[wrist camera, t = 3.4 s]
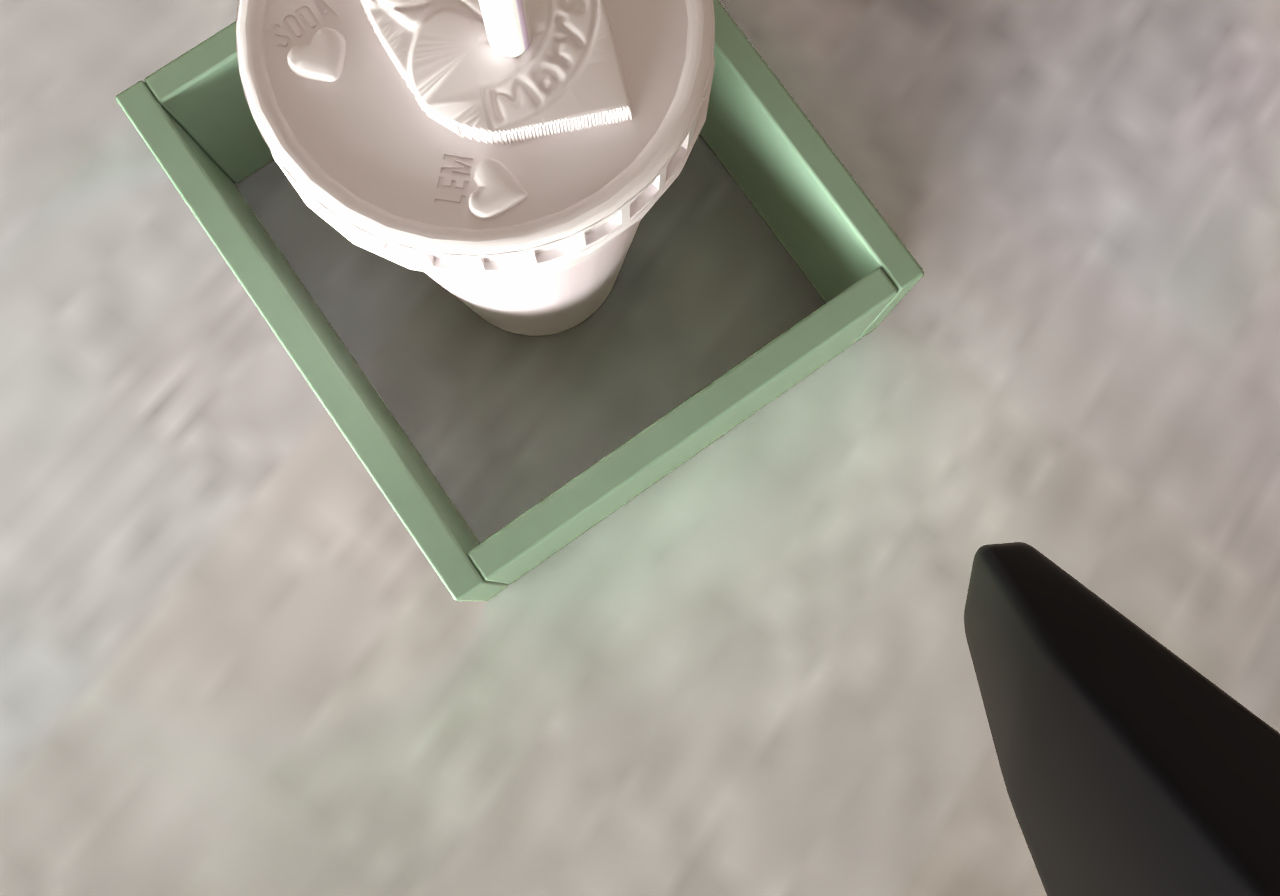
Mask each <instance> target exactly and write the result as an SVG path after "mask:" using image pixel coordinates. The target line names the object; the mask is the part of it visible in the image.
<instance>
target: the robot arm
mask: <svg viewBox="0 0 1280 896" xmlns="http://www.w3.org/2000/svg"><path fill="white" fill-rule="evenodd" d="M964 624H965V632H966V638H967V642H968V646H969V649H970V653H971V657H972V661H973V665H974V669H975V672H976V676H977V680H978V684H979V688H980V691H981V695H982V699H983V703H984V707H985V710H986V714H987V718H988V722H989V726H990V729H991V733H992V737H993V741H994V745H995V748H996V752H997V756H998V760H999V764H1000V767H1001V771H1002V774H1003V778H1004V781H1005V785H1006V788H1007V792H1008V795H1009V797H1010V800H1011V803H1012V806H1013V809H1014V811H1015V814H1016V817H1017V820H1018V822H1019V825H1020V827H1021V830H1022V832H1023V835H1024V837H1025V840H1026V842H1027V845H1028V848H1029V850H1030V853H1031V855H1032V858H1033V860H1034V863H1035V865H1036V868H1037V871H1038V873H1039V876H1040V878H1041V881H1042V883H1043V886H1044V888H1045V891H1046V893H1047V896H1280V734H1279V733H1278V732H1277V731H1276V730H1274V729H1273V728H1272V727H1270V726H1269V725H1268V724H1266V723H1265V722H1264V721H1262V720H1261V719H1260V718H1258V717H1257V716H1256V715H1254V714H1253V713H1252V712H1250V711H1249V710H1248V709H1246V708H1245V707H1244V706H1242V705H1241V704H1240V703H1238V702H1237V701H1236V700H1234V699H1233V698H1232V697H1231V696H1229V695H1228V694H1227V693H1225V692H1224V691H1223V690H1221V689H1220V688H1219V687H1217V686H1216V685H1215V684H1213V683H1212V682H1211V681H1209V680H1208V679H1207V678H1205V677H1204V676H1203V675H1201V674H1200V673H1199V672H1197V671H1196V670H1195V669H1193V668H1192V667H1191V666H1190V665H1188V664H1187V663H1186V662H1184V661H1183V660H1182V659H1180V658H1179V657H1178V656H1176V655H1175V654H1174V653H1172V652H1171V651H1170V650H1168V649H1167V648H1166V647H1164V646H1163V645H1162V644H1160V643H1159V642H1158V641H1156V640H1155V639H1154V638H1152V637H1151V636H1150V635H1149V634H1147V633H1146V632H1145V631H1143V630H1142V629H1141V628H1139V627H1138V626H1137V625H1135V624H1134V623H1133V622H1131V621H1130V620H1129V619H1127V618H1126V617H1125V616H1123V615H1122V614H1121V613H1119V612H1118V611H1117V610H1115V609H1114V608H1113V607H1111V606H1110V605H1109V604H1107V603H1106V602H1105V601H1104V600H1102V599H1101V598H1100V597H1098V596H1097V595H1096V594H1094V593H1093V592H1092V591H1090V590H1089V589H1088V588H1086V587H1085V586H1084V585H1082V584H1081V583H1080V582H1078V581H1077V580H1076V579H1074V578H1073V577H1072V576H1070V575H1069V574H1068V573H1066V572H1065V571H1064V570H1063V569H1061V568H1060V567H1059V566H1057V565H1056V564H1055V563H1053V562H1052V561H1051V560H1049V559H1048V558H1047V557H1045V556H1044V555H1043V554H1041V553H1040V552H1039V551H1037V550H1036V549H1035V548H1033V547H1032V546H1030V545H1028V544H1026V543H1021V542H1015V543H1003V544H991V545H985V546H982V547H980V548H979V549H978V551H977V552H976V554H975V557H974V561H973V566H972V572H971V578H970V583H969V589H968V594H967V600H966V605H965V612H964Z"/></svg>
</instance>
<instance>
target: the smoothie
mask: <svg viewBox="0 0 1280 896" xmlns="http://www.w3.org/2000/svg"><path fill="white" fill-rule="evenodd" d="M714 43H715V16H714V5H713V0H239V3H238V8H237V22H236V50H237V59H238V66H239V73H240V78H241V82H242V86H243V90H244V94H245V97H246V100H247V103H248V106H249V108H250V111H251V114H252V116H253V119H254V121H255V123H256V125H257V127H258V129H259V131H260V133H261V135H262V137H263V139H264V140H265V142H266V144H267V145H268V147H269V148H270V150H271V153H272V156H273V158H274V160H275V161H276V162H277V164H278V165H279V167H280V168H281V170H282V171H283V172H284V174H285V175H286V177H287V178H288V180H289V181H290V182H291V184H292V185H293V187H294V188H295V190H296V191H297V192H298V194H299V195H300V197H301V198H302V200H303V201H304V202H305V204H306V205H307V206H308V207H309V208H310V209H311V210H312V211H314V212H315V213H316V214H317V215H319V216H320V217H321V218H322V219H323V220H325V221H326V222H327V223H328V224H330V225H331V226H332V227H333V228H334V229H336V230H337V231H338V232H339V233H340V234H342V235H343V236H344V237H345V238H347V239H348V240H349V241H350V242H351V243H353V244H354V245H356V246H359V247H361V248H363V249H365V250H367V251H370V252H372V253H374V254H376V255H379V256H381V257H383V258H385V259H387V260H390V261H392V262H394V263H396V264H399V265H401V266H403V267H405V268H407V269H410V270H416V271H422V272H424V273H426V274H427V275H428V276H429V277H431V278H432V279H433V280H435V281H436V282H437V283H438V284H440V285H441V286H442V287H443V288H445V289H446V290H447V291H449V292H450V293H451V294H452V295H454V296H455V297H456V298H457V299H459V300H460V301H461V302H462V303H464V304H465V305H466V306H468V307H469V308H470V309H471V310H473V311H474V312H475V313H476V314H478V315H479V316H480V317H482V318H483V319H484V320H486V321H487V322H489V323H490V324H492V325H494V326H496V327H498V328H500V329H502V330H505V331H508V332H511V333H515V334H520V335H528V336H541V335H550V334H555V333H559V332H562V331H565V330H567V329H570V328H572V327H574V326H576V325H578V324H580V323H581V322H583V321H584V320H586V319H587V318H588V317H590V316H591V315H592V314H593V313H594V312H595V311H596V310H597V309H598V308H599V307H600V306H601V305H602V304H603V302H604V301H605V300H606V298H607V297H608V295H609V293H610V292H611V290H612V288H613V286H614V283H615V281H616V279H617V276H618V274H619V272H620V269H621V267H622V264H623V262H624V260H625V257H626V255H627V252H628V250H629V248H630V245H631V243H632V241H633V238H634V236H635V233H636V231H637V229H638V226H639V224H640V221H641V219H642V218H643V217H644V215H645V214H646V213H647V212H648V211H649V210H650V208H651V207H652V206H653V205H654V204H655V203H656V201H657V200H658V199H659V198H660V197H661V196H662V195H663V193H664V192H665V191H666V190H667V189H668V188H669V186H670V185H671V184H672V183H673V182H674V181H675V179H676V178H677V177H678V176H679V175H680V173H681V171H682V169H683V167H684V165H685V163H686V161H687V159H688V157H689V154H690V152H691V150H692V148H693V146H694V144H695V142H696V140H697V137H698V135H699V133H700V131H701V129H702V127H703V125H704V123H705V121H706V115H707V109H708V103H709V97H710V91H711V85H712V79H713V73H714V67H715V59H714Z"/></svg>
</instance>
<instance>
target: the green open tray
mask: <svg viewBox="0 0 1280 896" xmlns="http://www.w3.org/2000/svg"><path fill="white" fill-rule="evenodd" d="M713 5H714V16H715V43H714V59H715V67H714V73H713V79H712V85H711V91H710V97H709V103H708V109H707V115H706V121H705V123H704V125H703V127H702V129H701V131H700V134H701V136H702V137H703V138H704V140H705V141H706V143H707V144H708V145H709V147H710V148H711V149H712V151H713V152H714V153H715V155H716V156H717V157H718V159H719V160H720V161H721V163H722V164H723V165H724V167H725V168H726V169H727V171H728V172H729V173H730V175H731V176H732V177H733V179H734V180H735V181H736V183H737V184H738V185H739V187H740V188H741V189H742V191H743V192H744V193H745V195H746V196H747V197H748V199H749V200H750V202H751V203H752V204H753V206H754V207H755V208H756V210H757V211H758V212H759V214H760V215H761V216H762V218H763V219H764V220H765V222H766V223H767V224H768V226H769V227H770V228H771V230H772V231H773V232H774V234H775V235H776V236H777V238H778V239H779V240H780V242H781V243H782V244H783V246H784V247H785V248H786V250H787V251H788V252H789V254H790V255H791V257H792V258H793V259H794V261H795V262H796V263H797V265H798V266H799V267H800V269H801V270H802V271H803V273H804V274H805V275H806V277H807V278H808V279H809V281H810V282H811V283H812V285H813V286H814V287H815V289H816V290H817V291H818V293H819V294H820V295H821V297H822V298H823V299H824V301H825V302H826V304H824V305H823V306H822V307H820V308H819V309H817V310H816V311H814V312H813V313H811V314H810V315H809V316H807V317H806V318H804V319H803V320H801V321H800V322H799V323H797V324H796V325H794V326H793V327H791V328H790V329H788V330H787V331H786V332H784V333H783V334H781V335H780V336H778V337H777V338H775V339H774V340H773V341H771V342H770V343H768V344H767V345H765V346H764V347H763V348H761V349H760V350H758V351H757V352H755V353H754V354H752V355H751V356H750V357H748V358H747V359H745V360H744V361H742V362H741V363H740V364H738V365H737V366H735V367H734V368H732V369H731V370H729V371H728V372H727V373H725V374H724V375H722V376H721V377H719V378H718V379H717V380H715V381H714V382H712V383H711V384H709V385H708V386H706V387H705V388H704V389H702V390H701V391H699V392H698V393H696V394H695V395H693V396H692V397H691V398H689V399H688V400H686V401H685V402H683V403H682V404H681V405H679V406H678V407H676V408H675V409H673V410H672V411H670V412H669V413H668V414H666V415H665V416H663V417H662V418H660V419H659V420H658V421H656V422H655V423H653V424H652V425H650V426H649V427H647V428H646V429H645V430H643V431H642V432H640V433H639V434H637V435H636V436H634V437H633V438H632V439H630V440H629V441H627V442H626V443H624V444H623V445H622V446H620V447H619V448H617V449H616V450H614V451H613V452H611V453H610V454H609V455H607V456H606V457H604V458H603V459H601V460H600V461H599V462H597V463H596V464H594V465H593V466H591V467H590V468H588V469H587V470H586V471H584V472H583V473H581V474H580V475H578V476H577V477H576V478H574V479H573V480H571V481H570V482H568V483H567V484H565V485H564V486H563V487H561V488H560V489H558V490H557V491H555V492H554V493H552V494H551V495H550V496H548V497H547V498H545V499H544V500H542V501H541V502H540V503H538V504H537V505H535V506H534V507H532V508H531V509H529V510H528V511H527V512H525V513H524V514H522V515H521V516H519V517H518V518H517V519H515V520H514V521H512V522H511V523H509V524H508V525H506V526H505V527H504V528H502V529H501V530H499V531H498V532H496V533H495V534H493V535H492V536H491V537H489V538H488V539H486V540H485V541H483V542H482V543H481V544H480V542H479V541H478V539H477V538H476V536H475V535H474V534H473V532H472V531H471V529H470V528H469V526H468V525H467V523H466V522H465V520H464V519H463V517H462V516H461V515H460V513H459V512H458V510H457V509H456V507H455V506H454V504H453V503H452V501H451V500H450V498H449V497H448V496H447V494H446V493H445V491H444V490H443V488H442V487H441V485H440V484H439V482H438V481H437V479H436V478H435V477H434V475H433V474H432V472H431V471H430V469H429V468H428V466H427V465H426V463H425V462H424V460H423V459H422V458H421V456H420V455H419V453H418V452H417V450H416V449H415V447H414V446H413V444H412V443H411V441H410V440H409V439H408V437H407V436H406V434H405V433H404V431H403V430H402V428H401V427H400V425H399V424H398V422H397V421H396V420H395V418H394V417H393V415H392V414H391V412H390V411H389V409H388V408H387V406H386V405H385V403H384V402H383V401H382V399H381V398H380V396H379V395H378V393H377V392H376V390H375V389H374V387H373V386H372V384H371V383H370V382H369V380H368V379H367V377H366V376H365V374H364V373H363V371H362V370H361V368H360V367H359V365H358V364H357V363H356V361H355V360H354V358H353V357H352V355H351V354H350V352H349V351H348V349H347V348H346V346H345V345H344V343H343V342H342V341H341V339H340V338H339V336H338V335H337V333H336V332H335V330H334V329H333V327H332V326H331V324H330V323H329V322H328V320H327V319H326V317H325V316H324V314H323V313H322V311H321V310H320V308H319V307H318V305H317V304H316V303H315V301H314V300H313V298H312V297H311V295H310V294H309V292H308V291H307V289H306V288H305V286H304V285H303V284H302V282H301V281H300V279H299V278H298V276H297V275H296V273H295V272H294V270H293V269H292V267H291V266H290V265H289V263H288V262H287V260H286V259H285V257H284V256H283V254H282V253H281V251H280V250H279V248H278V247H277V246H276V244H275V243H274V241H273V240H272V238H271V237H270V235H269V234H268V232H267V231H266V229H265V228H264V227H263V225H262V224H261V222H260V221H259V219H258V218H257V216H256V215H255V213H254V212H253V210H252V209H251V208H250V206H249V205H248V203H247V202H246V200H245V199H244V197H243V196H242V194H241V193H240V191H239V190H238V189H237V187H236V186H235V184H234V183H238V182H240V181H241V180H243V179H244V178H246V177H247V176H249V175H251V174H252V173H254V172H255V171H257V170H258V169H260V168H261V167H263V166H265V165H266V164H268V163H269V162H271V161H272V160H274V158H273V156H272V153H271V150H270V148H269V147H268V145H267V144H266V142H265V140H264V139H263V137H262V135H261V133H260V131H259V129H258V127H257V125H256V123H255V121H254V119H253V116H252V114H251V111H250V108H249V106H248V103H247V100H246V97H245V94H244V90H243V86H242V82H241V78H240V73H239V66H238V59H237V50H236V22H237V21H235V22H234V23H232V24H231V25H229V26H227V27H226V28H224V29H223V30H221V31H219V32H218V33H216V34H215V35H213V36H212V37H210V38H208V39H207V40H205V41H204V42H202V43H200V44H199V45H197V46H196V47H194V48H192V49H191V50H189V51H188V52H186V53H184V54H183V55H181V56H180V57H178V58H177V59H175V60H173V61H172V62H170V63H169V64H167V65H165V66H164V67H162V68H161V69H159V70H157V71H156V72H154V73H153V74H151V75H149V76H148V77H146V78H145V82H143V81H139V82H138V83H136V84H134V85H133V86H131V87H130V88H128V89H126V90H125V91H123V92H122V93H120V94H118V95H117V96H116V100H117V102H118V103H119V105H120V106H121V108H122V109H123V110H124V112H125V113H126V115H127V116H128V118H129V119H130V121H131V122H132V124H133V125H134V127H135V128H136V130H137V131H138V133H139V134H140V136H141V137H142V139H143V140H144V142H145V143H146V144H147V146H148V147H149V149H150V150H151V152H152V153H153V155H154V156H155V158H156V159H157V161H158V162H159V164H160V165H161V167H162V168H163V170H164V171H165V173H166V174H167V176H168V177H169V178H170V180H171V181H172V183H173V184H174V186H175V187H176V189H177V190H178V192H179V193H180V195H181V196H182V198H183V199H184V201H185V202H186V204H187V205H188V207H189V208H190V209H191V211H192V212H193V214H194V215H195V217H196V218H197V220H198V221H199V223H200V224H201V226H202V227H203V229H204V230H205V232H206V233H207V235H208V236H209V238H210V239H211V241H212V242H213V243H214V245H215V246H216V248H217V249H218V251H219V252H220V254H221V255H222V257H223V258H224V260H225V261H226V263H227V264H228V266H229V267H230V269H231V270H232V272H233V273H234V275H235V276H236V277H237V279H238V280H239V282H240V283H241V285H242V286H243V288H244V289H245V291H246V292H247V294H248V295H249V297H250V298H251V300H252V301H253V303H254V304H255V306H256V307H257V309H258V310H259V311H260V313H261V314H262V316H263V317H264V319H265V320H266V322H267V323H268V325H269V326H270V328H271V329H272V331H273V332H274V334H275V335H276V337H277V338H278V340H279V341H280V342H281V344H282V345H283V347H284V348H285V350H286V351H287V353H288V354H289V356H290V357H291V359H292V360H293V362H294V363H295V365H296V366H297V368H298V369H299V371H300V372H301V374H302V375H303V376H304V378H305V379H306V381H307V382H308V384H309V385H310V387H311V388H312V390H313V391H314V393H315V394H316V396H317V397H318V399H319V400H320V402H321V403H322V405H323V406H324V408H325V409H326V410H327V412H328V413H329V415H330V416H331V418H332V419H333V421H334V422H335V424H336V425H337V427H338V428H339V430H340V431H341V433H342V434H343V436H344V437H345V439H346V440H347V442H348V443H349V444H350V446H351V447H352V449H353V450H354V452H355V453H356V455H357V456H358V458H359V459H360V461H361V462H362V464H363V465H364V467H365V468H366V470H367V471H368V473H369V474H370V475H371V477H372V478H373V480H374V481H375V483H376V484H377V486H378V487H379V489H380V490H381V492H382V493H383V495H384V496H385V498H386V499H387V501H388V502H389V504H390V505H391V507H392V508H393V509H394V511H395V512H396V514H397V515H398V517H399V518H400V520H401V521H402V523H403V524H404V526H405V527H406V529H407V530H408V532H409V533H410V535H411V536H412V538H413V539H414V541H415V542H416V543H417V545H418V546H419V548H420V549H421V551H422V552H423V554H424V555H425V557H426V558H427V560H428V561H429V563H430V564H431V566H432V567H433V569H434V570H435V572H436V573H437V575H438V576H439V577H440V579H441V580H442V582H443V583H444V585H445V586H446V588H447V589H448V591H449V592H450V594H451V595H452V597H453V598H454V600H456V601H487V600H489V599H490V598H492V597H493V596H494V595H496V594H497V593H499V592H500V591H502V590H503V589H504V588H506V587H507V586H508V584H510V583H513V582H514V581H516V580H517V579H519V578H520V577H521V576H523V575H524V574H526V573H527V572H529V571H530V570H531V569H533V568H534V567H536V566H537V565H539V564H540V563H541V562H543V561H544V560H546V559H547V558H548V557H550V556H551V555H553V554H554V553H556V552H557V551H558V550H560V549H561V548H563V547H564V546H566V545H567V544H568V543H570V542H571V541H573V540H574V539H576V538H577V537H578V536H580V535H581V534H583V533H584V532H586V531H587V530H588V529H590V528H591V527H593V526H594V525H596V524H597V523H598V522H600V521H601V520H603V519H604V518H606V517H607V516H608V515H610V514H611V513H613V512H614V511H616V510H617V509H618V508H620V507H621V506H623V505H624V504H626V503H627V502H628V501H630V500H631V499H633V498H634V497H635V496H637V495H638V494H640V493H641V492H643V491H644V490H645V489H647V488H648V487H650V486H651V485H653V484H654V483H655V482H657V481H658V480H660V479H661V478H663V477H664V476H665V475H667V474H668V473H670V472H671V471H673V470H674V469H675V468H677V467H678V466H680V465H681V464H683V463H684V462H685V461H687V460H688V459H690V458H691V457H693V456H694V455H695V454H697V453H698V452H700V451H701V450H703V449H704V448H705V447H707V446H708V445H710V444H711V443H713V442H714V441H715V440H717V439H718V438H720V437H721V436H723V435H724V434H725V433H727V432H728V431H730V430H731V429H732V428H734V427H735V426H737V425H738V424H740V423H741V422H742V421H744V420H745V419H747V418H748V417H750V416H751V415H752V414H754V413H755V412H757V411H758V410H760V409H761V408H762V407H764V406H765V405H767V404H768V403H770V402H771V401H772V400H774V399H775V398H777V397H778V396H780V395H781V394H782V393H784V392H785V391H787V390H788V389H790V388H791V387H792V386H794V385H795V384H797V383H798V382H800V381H801V380H802V379H804V378H805V377H807V376H808V375H810V374H811V373H812V372H814V371H815V370H817V369H818V368H820V367H821V366H822V365H824V364H825V363H827V362H828V361H829V360H831V359H832V358H834V357H835V356H837V355H838V354H839V353H841V352H842V351H844V350H845V349H847V348H848V347H849V346H851V345H852V344H853V343H854V342H855V341H857V340H859V339H861V338H862V337H864V336H865V335H867V334H868V333H869V332H871V331H872V330H874V329H875V328H876V327H877V326H878V325H879V324H880V323H881V321H882V320H883V319H884V318H885V317H886V316H887V315H888V314H889V313H890V312H891V310H892V309H893V308H894V307H895V306H896V305H897V304H898V303H899V302H900V301H901V300H902V298H903V297H904V296H905V295H906V294H907V293H908V292H909V291H910V290H911V289H912V287H913V286H914V285H915V284H916V283H917V282H918V281H919V280H920V279H921V278H922V277H923V275H924V271H923V270H922V268H921V267H920V266H919V264H918V263H917V262H916V260H915V259H914V258H913V256H912V255H911V254H910V252H909V251H908V250H907V249H906V247H905V246H904V245H903V243H902V242H901V241H900V239H899V238H898V237H897V235H896V234H895V233H894V231H893V230H892V229H891V227H890V226H889V225H888V224H887V222H886V221H885V220H884V218H883V217H882V216H881V214H880V213H879V212H878V210H877V209H876V208H875V206H874V205H873V204H872V202H871V201H870V200H869V199H868V197H867V196H866V195H865V193H864V192H863V191H862V189H861V188H860V187H859V185H858V184H857V183H856V181H855V180H854V179H853V177H852V176H851V175H850V174H849V172H848V171H847V170H846V168H845V167H844V166H843V164H842V163H841V162H840V160H839V159H838V158H837V156H836V155H835V154H834V153H833V151H832V150H831V149H830V147H829V146H828V145H827V143H826V142H825V141H824V139H823V138H822V137H821V135H820V134H819V133H818V131H817V130H816V129H815V128H814V126H813V125H812V124H811V122H810V121H809V120H808V118H807V117H806V116H805V114H804V113H803V112H802V110H801V109H800V108H799V106H798V105H797V104H796V103H795V101H794V100H793V99H792V97H791V96H790V95H789V93H788V92H787V91H786V89H785V88H784V87H783V85H782V84H781V83H780V81H779V80H778V79H777V78H776V76H775V75H774V74H773V72H772V71H771V70H770V68H769V67H768V66H767V64H766V63H765V62H764V60H763V59H762V58H761V56H760V55H759V54H758V53H757V51H756V50H755V49H754V47H753V46H752V45H751V43H750V42H749V41H748V39H747V38H746V37H745V35H744V34H743V33H742V32H741V30H740V29H739V28H738V26H737V25H736V24H735V22H734V21H733V20H732V18H731V17H730V16H729V14H728V13H727V12H726V10H725V9H724V8H723V7H722V5H721V4H720V3H719V1H718V0H713ZM233 182H234V183H233Z"/></svg>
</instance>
